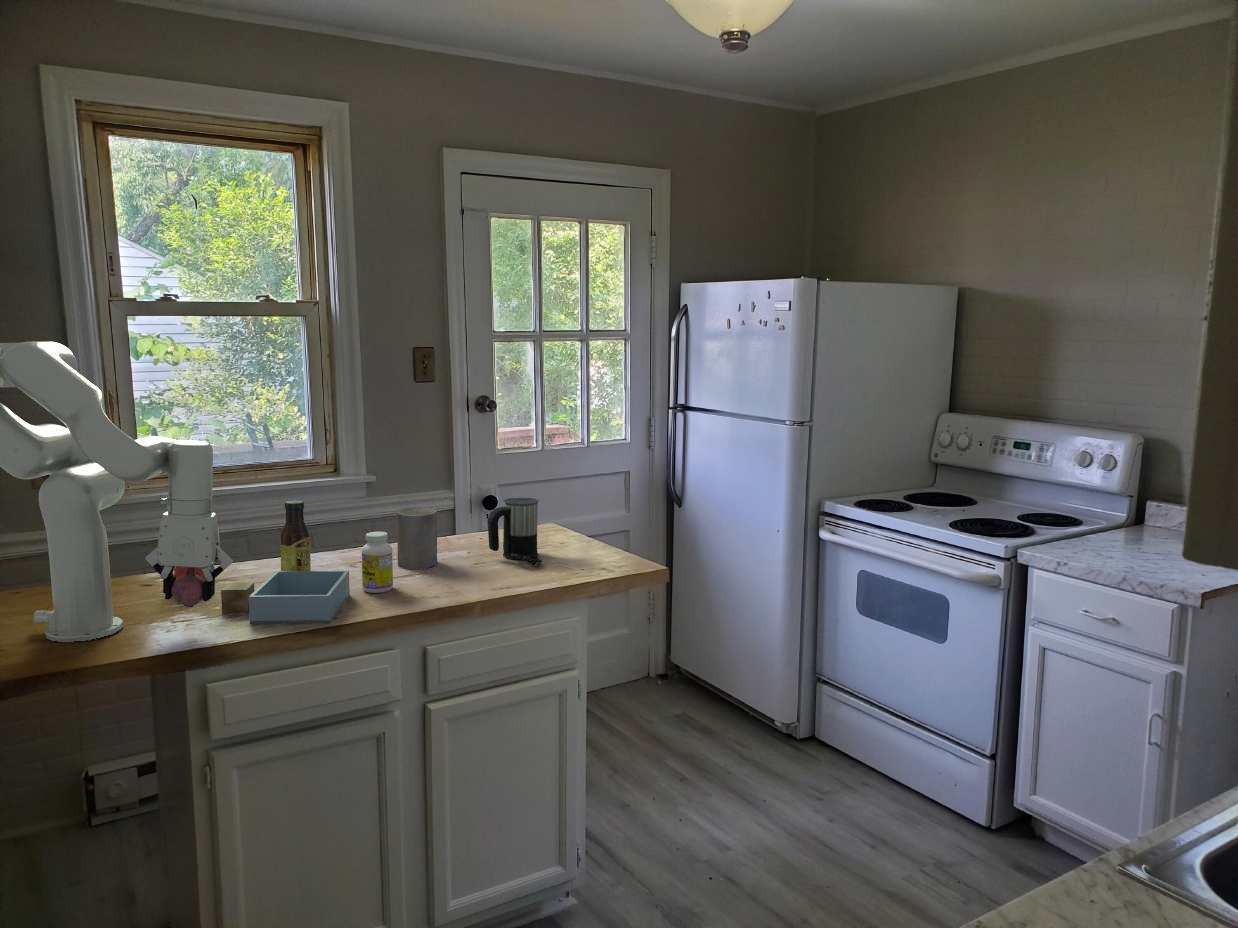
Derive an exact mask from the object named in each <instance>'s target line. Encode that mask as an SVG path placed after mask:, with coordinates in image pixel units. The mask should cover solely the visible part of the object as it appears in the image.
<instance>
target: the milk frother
mask: <svg viewBox="0 0 1238 928" xmlns="http://www.w3.org/2000/svg"><path fill="white" fill-rule="evenodd" d="M503 502H504V506H500V507H496V508H494V509H492V510H491V511H490V513H489V514H488V516H487V532H488V533H487V534H488V535H487V536H488V547H489V549H490V550H492V551H494V552H498V551H499V549H500V542H499V541H500V540H499V539H500V538H499V537H500V536H499V520H500V518H501V517H503V535H502V536H503V537H502V539H503V542H502V550H503V553H502V556H503V557H504V558H506V559H509V560H514V559H515V560H517V561H524V562H526V563H528V564H530V565H531V564H532V565H531V566H533V565H537V564H543V560H542V558H539V557H538V556H539V553H538V507H539V506H538V505H539V504H538V503H539V502H540V501H539V500H538V499H536V498H532V497H510V498H505V499H503Z"/></svg>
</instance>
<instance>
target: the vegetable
mask: <svg viewBox="0 0 1238 928" xmlns="http://www.w3.org/2000/svg"><path fill="white" fill-rule="evenodd" d="M204 581H205V580H204V579H203V578H201V577H200V576H198V575H196V574H194V568H188V570H187V573H186V574H185V575H183V576H181V577H180V578H178V579H177V580H176V581H175V582H174V583H173V585H172V588H171V592H172V596H173V597H172V598H173V599H174V601H175V602H177V603H179V604H180V605H183V607H185V608H187V609H188V608H194V606H195V605H197V604H199V602H200V601H203V582H204Z"/></svg>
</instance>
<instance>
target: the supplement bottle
mask: <svg viewBox="0 0 1238 928" xmlns="http://www.w3.org/2000/svg"><path fill="white" fill-rule="evenodd" d="M388 539H389V538H388V533H387V532H385V531H371V532H367V533H365V540H366V544H365V545H363V546H362V548H361V571H362V572H361V578H362V579H361V580H362V585H361V586H362V590H363V591H364V592H366V593H371V594H380V593H386V592H389V591H391V590H392V589H393V588H394V577H393V575H394V568H393V566H394V565H393V547H392V546H391V544H390V543H388Z"/></svg>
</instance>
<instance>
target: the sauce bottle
mask: <svg viewBox="0 0 1238 928" xmlns="http://www.w3.org/2000/svg"><path fill="white" fill-rule="evenodd" d="M304 508H305V502H304V501H303V500H288V501H285V502H284V510H285V523H284V525H283V526H282V529H281V531H280V545H279V546H280V548H279V549H280V571H312V568H311V536H310V533H309V531H308V528H307V525H306V523H305V518H304Z"/></svg>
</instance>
